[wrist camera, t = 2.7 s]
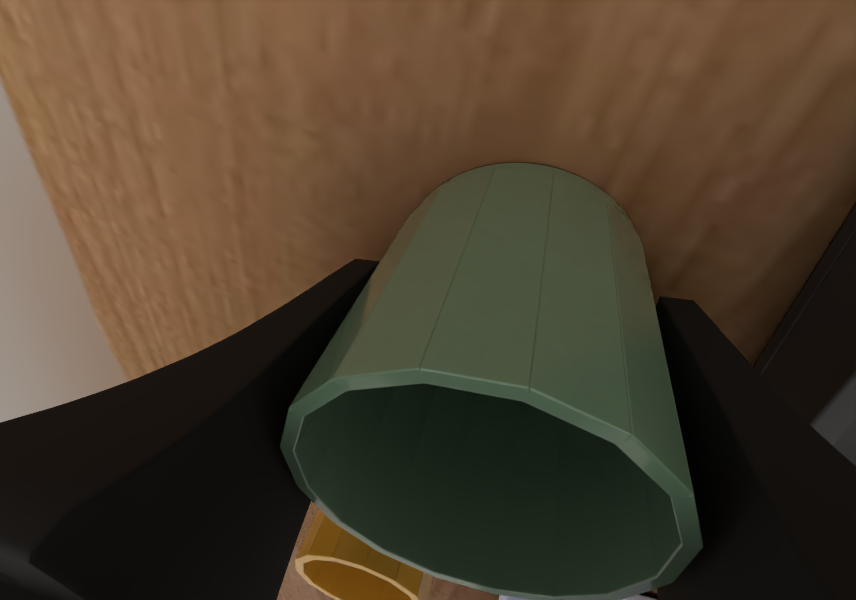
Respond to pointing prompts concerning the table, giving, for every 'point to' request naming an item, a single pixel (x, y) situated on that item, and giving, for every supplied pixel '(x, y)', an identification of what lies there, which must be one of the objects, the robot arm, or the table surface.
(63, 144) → the table surface
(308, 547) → the mustard cup
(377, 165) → the table surface
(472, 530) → the green cup
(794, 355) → the tray
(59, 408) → the robot arm
